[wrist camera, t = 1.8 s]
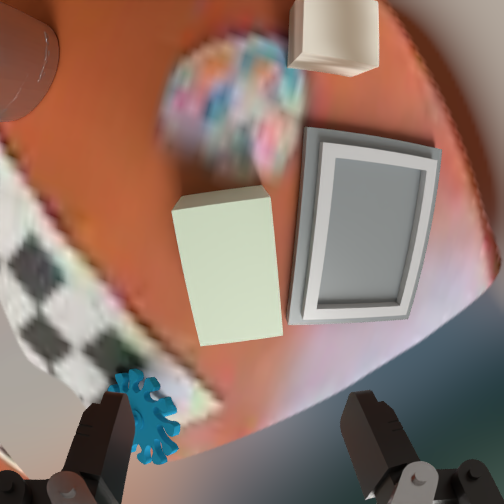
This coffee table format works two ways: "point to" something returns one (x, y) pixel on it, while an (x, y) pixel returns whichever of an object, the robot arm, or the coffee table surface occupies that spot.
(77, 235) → the coffee table surface
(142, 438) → the gear
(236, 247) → the brick
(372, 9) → the cube
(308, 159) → the plate
